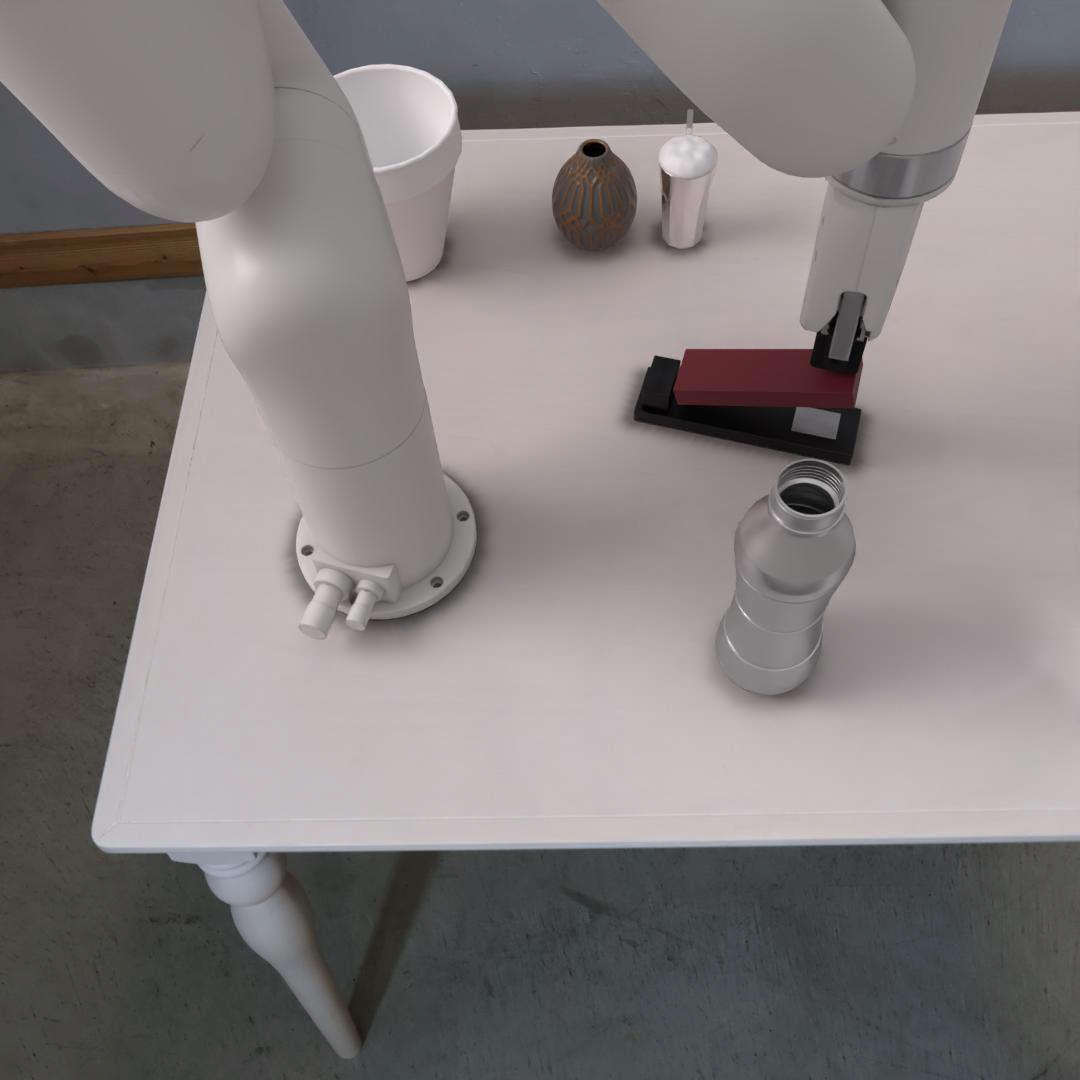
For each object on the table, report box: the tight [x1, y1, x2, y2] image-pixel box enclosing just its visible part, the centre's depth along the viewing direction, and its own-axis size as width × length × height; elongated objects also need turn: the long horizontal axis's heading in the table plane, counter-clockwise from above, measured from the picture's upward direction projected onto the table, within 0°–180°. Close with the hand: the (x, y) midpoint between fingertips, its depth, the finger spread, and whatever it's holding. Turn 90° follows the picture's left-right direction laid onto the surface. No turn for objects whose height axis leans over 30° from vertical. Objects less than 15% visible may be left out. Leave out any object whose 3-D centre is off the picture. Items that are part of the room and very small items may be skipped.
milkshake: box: [657, 109, 719, 250], centre depth 90 cm, size 4×5×10 cm
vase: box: [551, 138, 638, 252], centre depth 91 cm, size 7×7×9 cm
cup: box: [333, 63, 463, 282], centre depth 89 cm, size 12×12×14 cm
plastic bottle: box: [715, 458, 857, 696], centre depth 65 cm, size 6×7×20 cm
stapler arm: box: [673, 348, 864, 408], centre depth 79 cm, size 12×4×2 cm, turn 73°
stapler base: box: [633, 354, 863, 466], centre depth 82 cm, size 16×4×3 cm, turn 73°
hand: (834, 361), depth 76 cm, fingers closed
